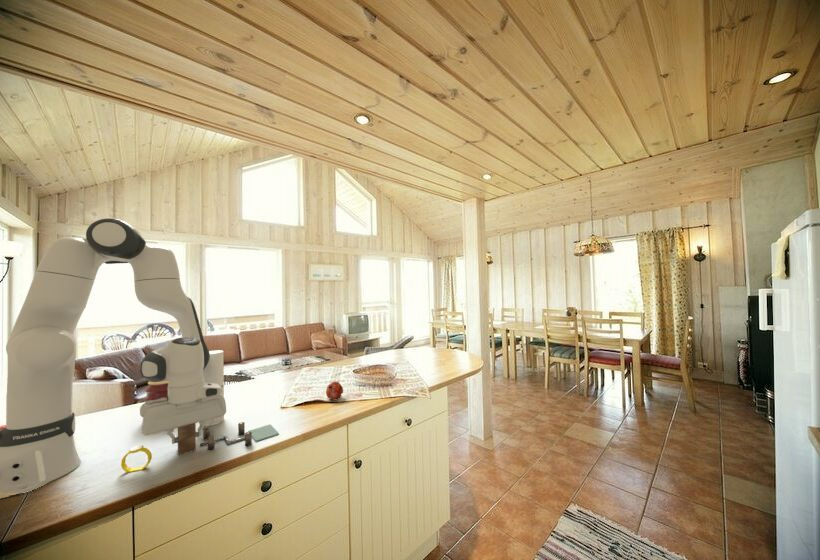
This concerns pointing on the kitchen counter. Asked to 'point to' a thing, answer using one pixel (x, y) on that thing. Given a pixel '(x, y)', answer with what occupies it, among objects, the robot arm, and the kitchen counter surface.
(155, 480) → the kitchen counter surface
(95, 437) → the kitchen counter surface
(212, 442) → the gates
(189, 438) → the block
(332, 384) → the pomegranate
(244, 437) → the wire
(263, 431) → the mat
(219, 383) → the cylindrical container
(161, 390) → the canister
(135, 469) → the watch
